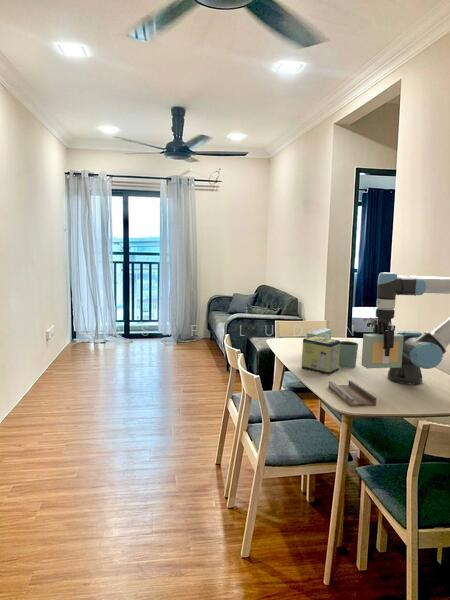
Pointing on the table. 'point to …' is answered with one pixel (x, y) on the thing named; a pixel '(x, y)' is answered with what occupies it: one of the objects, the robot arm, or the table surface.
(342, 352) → the green cup
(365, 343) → the cracker box
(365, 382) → the table surface
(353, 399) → the facing shelf
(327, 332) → the snack box
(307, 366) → the protein box
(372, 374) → the table surface
